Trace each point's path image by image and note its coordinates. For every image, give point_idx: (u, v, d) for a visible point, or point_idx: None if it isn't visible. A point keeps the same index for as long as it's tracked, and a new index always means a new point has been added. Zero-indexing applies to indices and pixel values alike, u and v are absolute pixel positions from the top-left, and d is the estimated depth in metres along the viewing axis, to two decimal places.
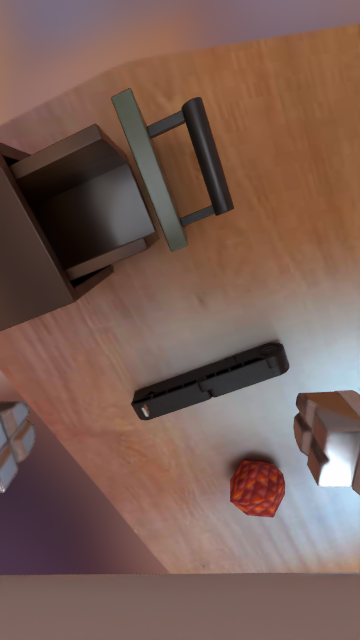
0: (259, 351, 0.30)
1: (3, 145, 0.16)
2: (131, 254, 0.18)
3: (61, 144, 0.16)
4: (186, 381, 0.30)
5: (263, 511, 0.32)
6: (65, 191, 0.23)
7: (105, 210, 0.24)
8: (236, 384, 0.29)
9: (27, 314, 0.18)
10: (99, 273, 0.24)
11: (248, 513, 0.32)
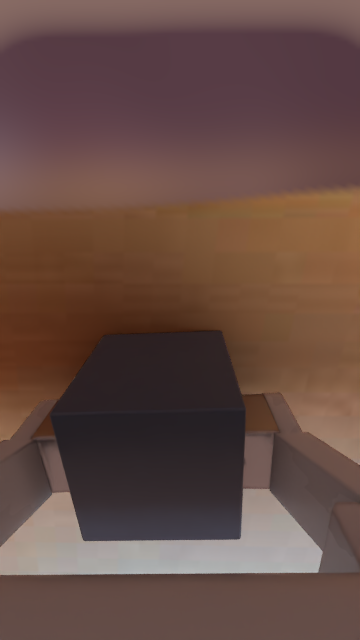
0: None
1: None
2: None
3: None
4: None
5: None
6: None
7: None
8: None
9: None
10: None
11: None
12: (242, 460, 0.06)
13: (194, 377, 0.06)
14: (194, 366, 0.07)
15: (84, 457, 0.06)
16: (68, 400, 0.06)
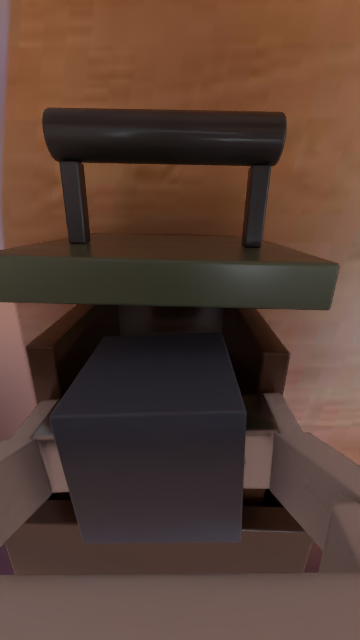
0: None
1: None
2: (282, 389, 0.08)
3: None
4: None
5: None
6: None
7: None
8: None
9: None
10: None
11: None
12: (242, 463, 0.06)
13: (194, 379, 0.06)
14: (194, 368, 0.07)
15: (84, 460, 0.06)
16: (68, 403, 0.06)
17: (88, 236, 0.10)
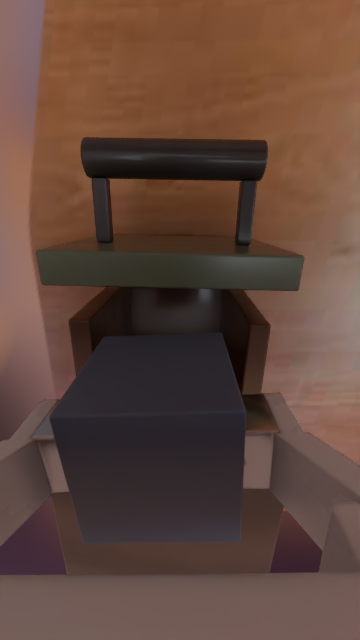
0: None
1: None
2: (264, 354, 0.10)
3: None
4: None
5: None
6: None
7: (171, 329, 0.18)
8: None
9: (271, 524, 0.12)
10: None
11: None
12: (242, 463, 0.06)
13: (193, 380, 0.06)
14: (194, 368, 0.07)
15: (84, 460, 0.06)
16: (68, 403, 0.06)
17: (112, 236, 0.12)
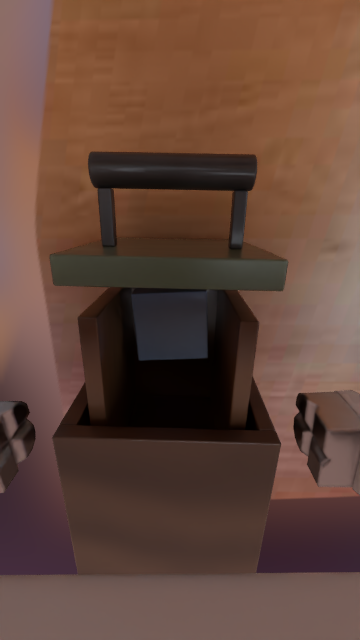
0: None
1: (68, 413, 0.13)
2: (254, 348, 0.11)
3: (87, 367, 0.12)
4: None
5: None
6: (134, 358, 0.20)
7: None
8: None
9: (262, 499, 0.13)
10: None
11: None
12: (206, 315, 0.15)
13: None
14: None
15: (143, 314, 0.15)
16: (136, 291, 0.15)
17: (115, 241, 0.13)
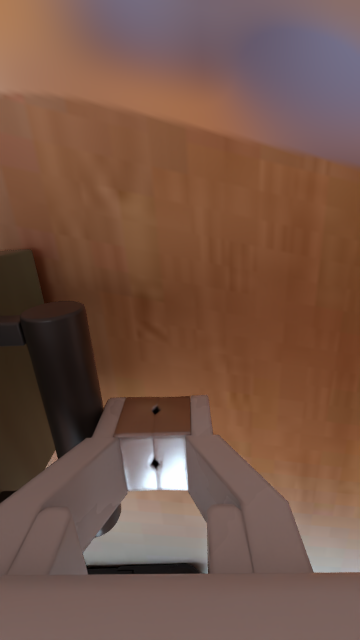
0: None
1: None
2: None
3: None
4: None
5: None
6: None
7: None
8: None
9: None
10: None
11: None
12: None
13: None
14: None
15: None
16: None
17: None
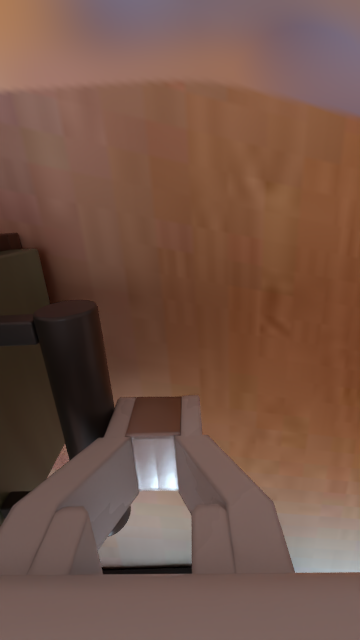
0: None
1: None
2: None
3: None
4: None
5: None
6: None
7: None
8: None
9: None
10: None
11: None
12: None
13: None
14: None
15: None
16: None
17: None
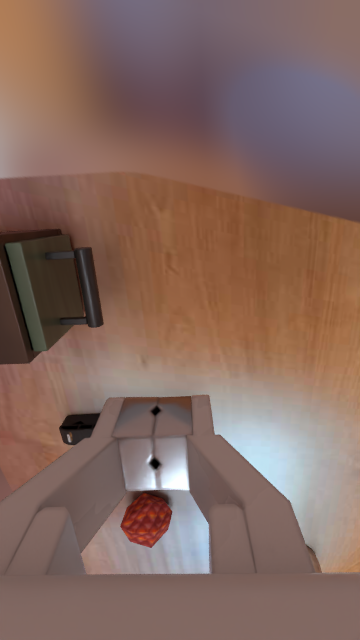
0: None
1: (7, 235, 0.20)
2: None
3: None
4: None
5: (144, 541, 0.38)
6: None
7: None
8: None
9: None
10: None
11: (131, 540, 0.38)
12: (22, 310, 0.25)
13: None
14: None
15: (12, 273, 0.24)
16: None
17: None
